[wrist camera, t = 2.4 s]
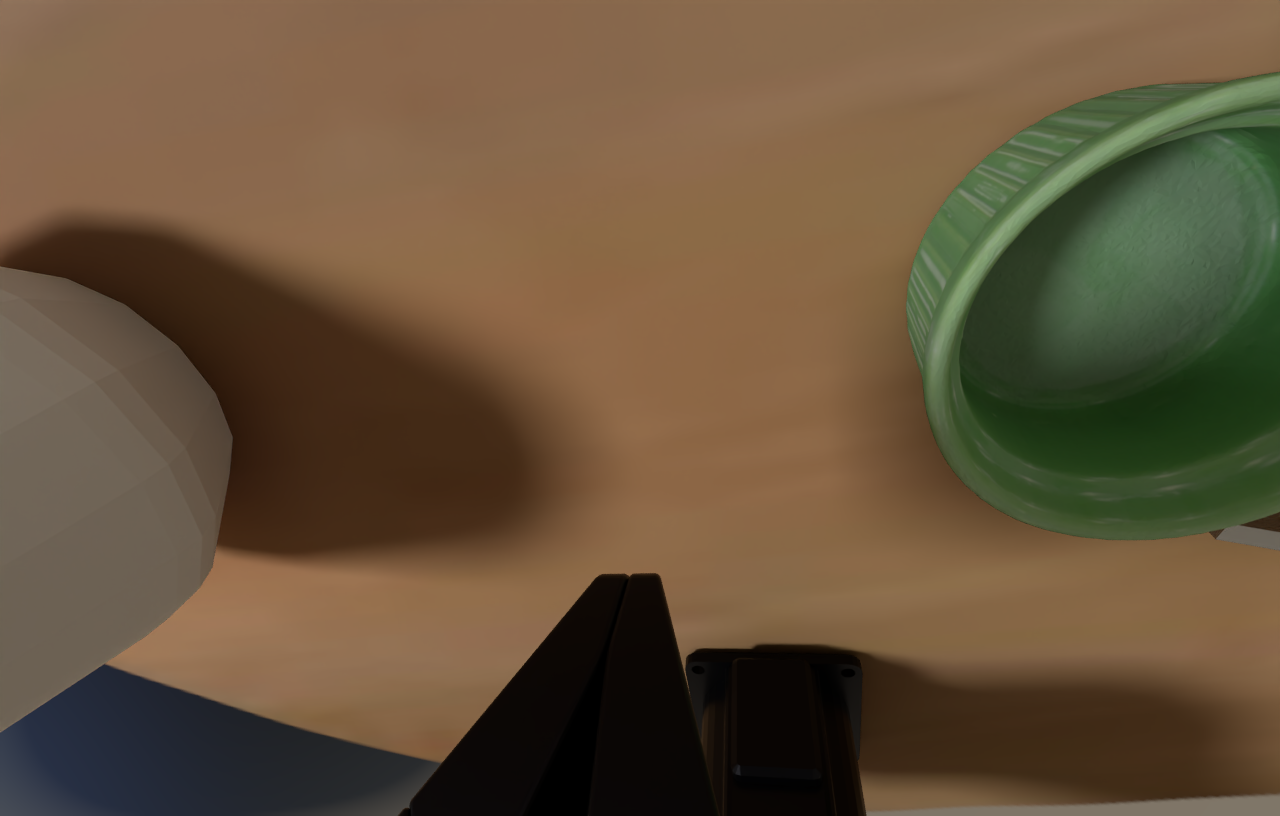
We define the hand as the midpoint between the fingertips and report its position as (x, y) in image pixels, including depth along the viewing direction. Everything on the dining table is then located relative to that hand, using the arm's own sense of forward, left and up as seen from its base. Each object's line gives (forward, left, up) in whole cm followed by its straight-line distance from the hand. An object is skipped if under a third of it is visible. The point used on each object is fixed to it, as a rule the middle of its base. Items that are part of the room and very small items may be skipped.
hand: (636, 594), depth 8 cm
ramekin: (0, -9, -10) cm, 14 cm away
